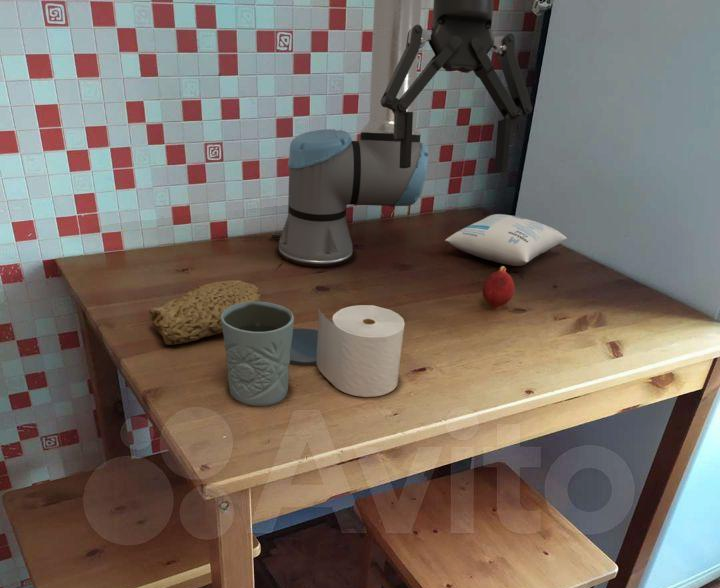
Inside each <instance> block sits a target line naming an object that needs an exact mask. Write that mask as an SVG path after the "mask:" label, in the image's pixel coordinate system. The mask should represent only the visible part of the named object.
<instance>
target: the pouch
mask: <svg viewBox="0 0 720 588" xmlns="http://www.w3.org/2000/svg"><path fill="white" fill-rule="evenodd" d="M567 239H568V237H567V236H565V235H564V234H563V233H561V231H559V230H557V229H555V228H553V227H551V226H550V225H549V226H548V225H546V224H543V223H541V222H539V221H535V220H532V219H527V218H524V217H521V216H515V215H510V214H505V213H504V214H502V213H495V214H491V215H488V216H486V217H484V218H483V219H480V220H479V221H476V222H473V223H472V224H469V225H467V226H466V227H464V228H462V229H459V230H457V231H456V232H455V233H453V234H451V235H449V236H448V237H447V238H446V239H444V241H445V242H447V244H449V245H450V246H452V247H454V248H455V249H457V250H458V251H461V252H464V253H467V254H469V255H472V256H474V257H478V258H480V259H482V260H483V259H484V260H487V261H491V262H494V263H498V264H502V265H506V266H507V265H508V266H514V267H521V266H525V265H527V263H529V262H531V261H532V260H533V259H535V258H536V257H539V256H540V255H543V254H544V253H546V252H547V251H549V250H551V249H553V248H554V247H556V246H558V245H560V244H561V243H562V242H564V241H565V240H567Z"/></svg>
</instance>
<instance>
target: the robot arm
mask: <svg viewBox="0 0 720 588" xmlns="http://www.w3.org/2000/svg"><path fill="white" fill-rule="evenodd" d="M493 13H494V0H433V9H432V27H431V30H430V29H425V28H423V26H422V25H421V15H422V0H373V20H372V22H373V23H372V42H371V43H372V44H371V66H370V67H371V69H370V87H369V88H370V91H369V92H370V93H369V111H368V112H369V113H368V114H369V115H368V116H369V117H368V122H367V123H366V125H365V126H364V127H362V128H361V130H360V140H352V137H351V134H350V133H349V132H347V130H342V129H337V130H336V129H334V128H333V129H332V128H331V129H329V128H327V129H317V130H310V131H305V132H303V133H300V134H299V135H296V136H295V137H294V138H293V139H292V140H291V142H290V144H289V152H288V154H289V155H288V161H287V167H288V199H287V200H288V201H287V207H288V208H287V216H286V220H285V223H284V226H283V227H282V228H283V229H282V231H281V234H272V235H271V238H272V239H274V240H275V239H279V241H278V254H279V256H280V257H281V258H282V259H284V260H286V261H287V262H289V263H292V264H294V265H299V266H303V267H309V268H311V267H312V268H331V267H332V268H333V267H336V266H337V267H338V266H340V265H344V264H346V263H348V262H350V261H351V259H352V258H353V250H354V249H353V242H352V238H351V234H350V229H349V225H348V222H347V206H348V205H352V206H353V205H354V206H375V207H376V206H377V207H378V206H379V207H380V206H381V207H392V208H395V207H409V206H412V205H414V204H416V203H417V201H418V200H419V199H420V196H421V194H422V192H423V189H424V187H425V183H426V178H427V174H428V173H427V172H428V166H429V147H428V145H427V144H425V143H424V142H421V135H422V134H421V132H420V130H419V129H418V128H417V127H416V125H415V122H414V120H415V106H416V98H417V97H418V96H419V95H420V93H422V91H423V90H424V89H425V88H426V86H427V85H428V84H429V83H430V82H431V80H432V79H433V78H434V76H435V75H436V74H437V73H438V72H439V70H441V69H444V70H445V72H449V73H450V72H455V71H458V72H460V73H465V74H468V73H471V72H472V71H473V73H474V74H475V76H476V77H477V78H479V80H480V81H481V83H482V84H483V86H484V88H485V89H486V91H487V93H488V94H489V96H490V98H491V99H492V101H493V103H494V104H495V106H496V107H497V109H498V111H499V112H500V114H501V115H502V117H503V118H502V119H500V120H498V121H497V130H496V131H497V132H496V144H495V158H494V172H493V173H494V174H501V173H507V172H508V171H509V169H508V167H509V156H510V147H512V146H515V144H516V142H517V132H518V131H517V130H518V122H519V119H520V118H522V117H523V116H527V115H530V114H531V113H532V112H533V105H532V102H531V98H530V96H529V92H528V89H527V87H526V82H525V80H524V77H523V74H522V71H521V68H520V65H519V61H518V59H517V55H516V38H515V35H514V34H513V33H512V32H511V33H507V34H505V35H502V36H498V35H497V36H494V35H493V31H492V26H493V25H492V23H493V15H494V14H493ZM426 42H428V44H429V46H430V48H431V50H432V52H433V54H434V55H433V57H432V58H431V60H429V61H428V63H427V64H426V65H425V67H424V68H423V70H422V71H421V72H420V73H419V75H418V59H419V50H420V49H422V48H423V47H424V46H425V44H426ZM492 48H493V49H494V51H495V54H496V55H497V56H498V59H499V64H500V68H501V70H502V73H503V77H504V79H505V83H506V85H507V88H508V90H507V89H506V87H505V85H504V83H503V81H502V80H501V78H500V76H499V75H498V73H497V71H496V69H495V66H494V63H493V62H492V60H491V58H490V57H489V55H488V54H489V53H490V51H491V50H492ZM417 75H418V76H417ZM508 91H509V92H508ZM355 229H356V228H355V225H352V235H355Z"/></svg>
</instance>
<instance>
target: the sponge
mask: <svg viewBox="0 0 720 588" xmlns="http://www.w3.org/2000/svg"><path fill="white" fill-rule="evenodd" d="M260 293H261V292H260V290H259V287H258V286H257V284H256V285H255V284H252V283H250V282H247V281H246V282H245V281H242V280H240V279H239V280H238V279H237V280H236V279H235V280H234V279H231V280H220V281H214V282H210V283H206V284H202V285H199V286H197V287H195V288H194V289H192V290H188V291H187V292H186V293H185V294H184V295H183V296H182V297H179V298H174V299H172V300H169V301H167V302H166V303H164V304H163V305H162V306H158V307H153V308H150V309H148V310H149V311H148V312H149V313H148V320H149V321H150V322H151V324H152V326H153V327H154V328H156V329H157V332H158V334H160V335H161V336H162V340H163V342H164V343H165V344H166V345H167V346H169V345H173V346H175V345H180V344H186V343H189V342H195V341H198V340H200V339H203V338H205V337H211V336H215V335H219V334H221V333H223V329H222V322H221V315H222V313H223V311H225V310H226V309H227V308H228V307H230V306H233V305H235V304H239V303H244V302H261V296H262V294H260Z"/></svg>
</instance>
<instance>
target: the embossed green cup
mask: <svg viewBox="0 0 720 588" xmlns="http://www.w3.org/2000/svg"><path fill="white" fill-rule="evenodd" d="M221 322H222V329H223V332H222V334H223V341H224V342H223V343H224V344H223V345H224V348H225V352H226V353H225V357H226V358H225V359H226V367H227V380H228V390H229V394H230V396H231V397H232V399H234V400H235V401H237V402H239V403H241V404H243V405H247V406H250V407H251V406H252V407H266V406H272V405H274V404H277V403H280V402H281V401H283V400H284V399H285V397H286V396H287V395H288V391H289V381H290V370H289V369H290V368H289V367H290V364H291V363H290V348H291V343H292V334H293V329H294V323H295V315H294V314H293V312H292V311H291V310H290V309H289V308H287V307H285V306H283V305H281V304H278V303H273V302H267V301H260V302H244V303H239V304H235V305H233V306H230V307H228V308H227V309H226V310H225V311H223V313H222V315H221Z"/></svg>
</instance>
